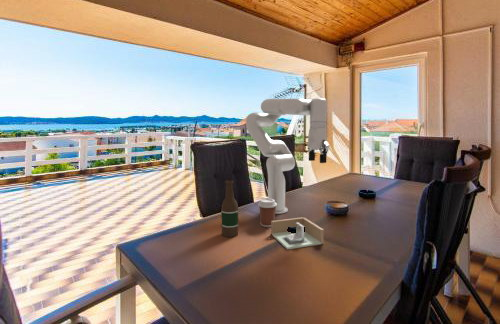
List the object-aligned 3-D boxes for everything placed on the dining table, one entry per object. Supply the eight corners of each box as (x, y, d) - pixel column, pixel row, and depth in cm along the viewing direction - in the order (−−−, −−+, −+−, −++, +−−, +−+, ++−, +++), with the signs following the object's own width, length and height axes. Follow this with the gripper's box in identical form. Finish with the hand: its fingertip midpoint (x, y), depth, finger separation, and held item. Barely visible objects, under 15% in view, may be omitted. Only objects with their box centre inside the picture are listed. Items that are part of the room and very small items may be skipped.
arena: (271, 234, 118) (271, 221, 117) (303, 229, 122) (303, 217, 122) (287, 249, 102) (287, 234, 102) (323, 243, 107) (323, 229, 107)
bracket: (298, 236, 113) (298, 222, 112) (304, 240, 108) (304, 226, 107) (285, 238, 111) (285, 224, 110) (290, 242, 106) (290, 228, 105)
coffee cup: (254, 224, 130) (254, 200, 128) (266, 219, 136) (266, 196, 135) (268, 229, 123) (268, 204, 122) (280, 224, 130) (280, 200, 128)
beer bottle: (241, 231, 120) (241, 179, 118) (235, 238, 113) (234, 182, 110) (225, 229, 123) (224, 178, 120) (218, 236, 116) (217, 181, 113)
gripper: (301, 125, 132) (301, 160, 135) (321, 125, 116) (320, 164, 118) (315, 125, 135) (314, 159, 137) (336, 125, 118) (334, 163, 120)
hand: (317, 161), depth 127 cm, fingers open, 9 cm apart
